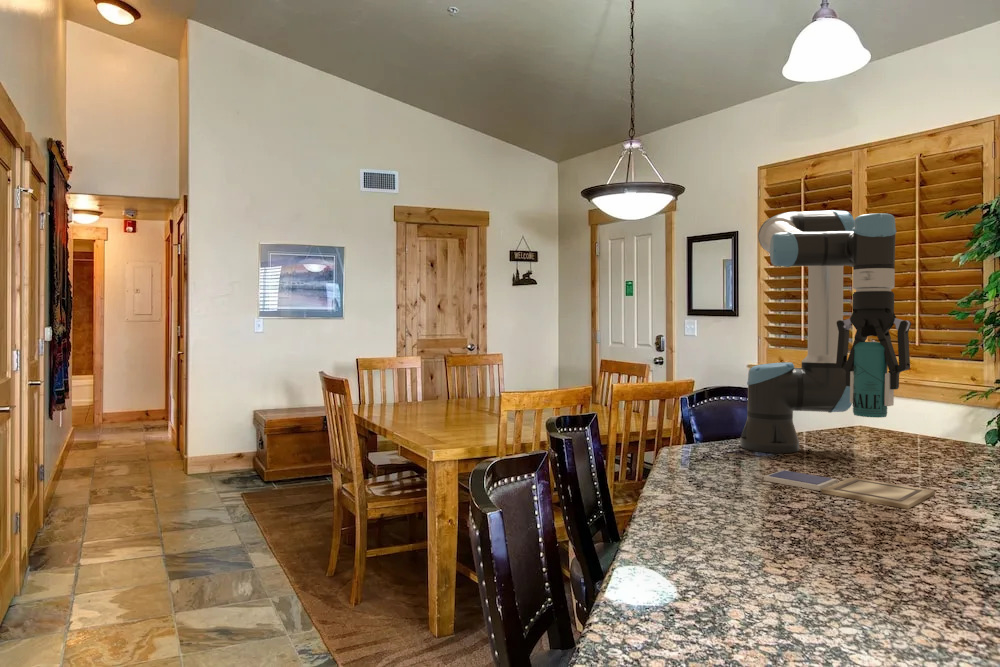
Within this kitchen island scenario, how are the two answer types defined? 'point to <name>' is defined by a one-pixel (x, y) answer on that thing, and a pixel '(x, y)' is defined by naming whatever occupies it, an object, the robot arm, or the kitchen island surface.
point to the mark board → (878, 492)
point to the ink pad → (800, 480)
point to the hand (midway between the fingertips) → (871, 403)
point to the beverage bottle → (869, 377)
